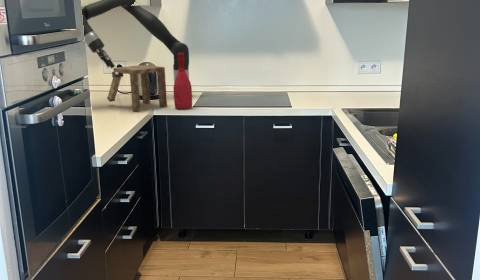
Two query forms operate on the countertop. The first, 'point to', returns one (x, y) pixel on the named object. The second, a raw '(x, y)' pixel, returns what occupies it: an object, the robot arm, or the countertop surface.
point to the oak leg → (114, 88)
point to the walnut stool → (144, 83)
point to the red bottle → (182, 87)
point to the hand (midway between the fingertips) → (111, 66)
